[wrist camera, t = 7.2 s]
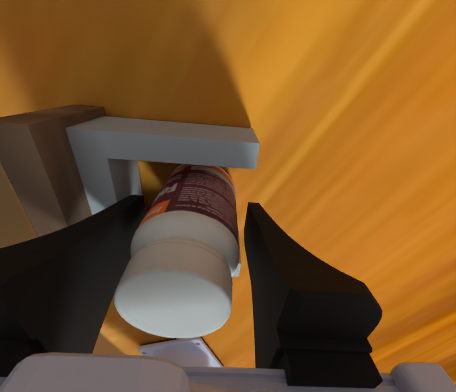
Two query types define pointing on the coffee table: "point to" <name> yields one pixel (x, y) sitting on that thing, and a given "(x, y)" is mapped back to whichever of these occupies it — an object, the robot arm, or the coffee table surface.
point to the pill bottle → (183, 257)
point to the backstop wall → (46, 165)
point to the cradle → (151, 153)
